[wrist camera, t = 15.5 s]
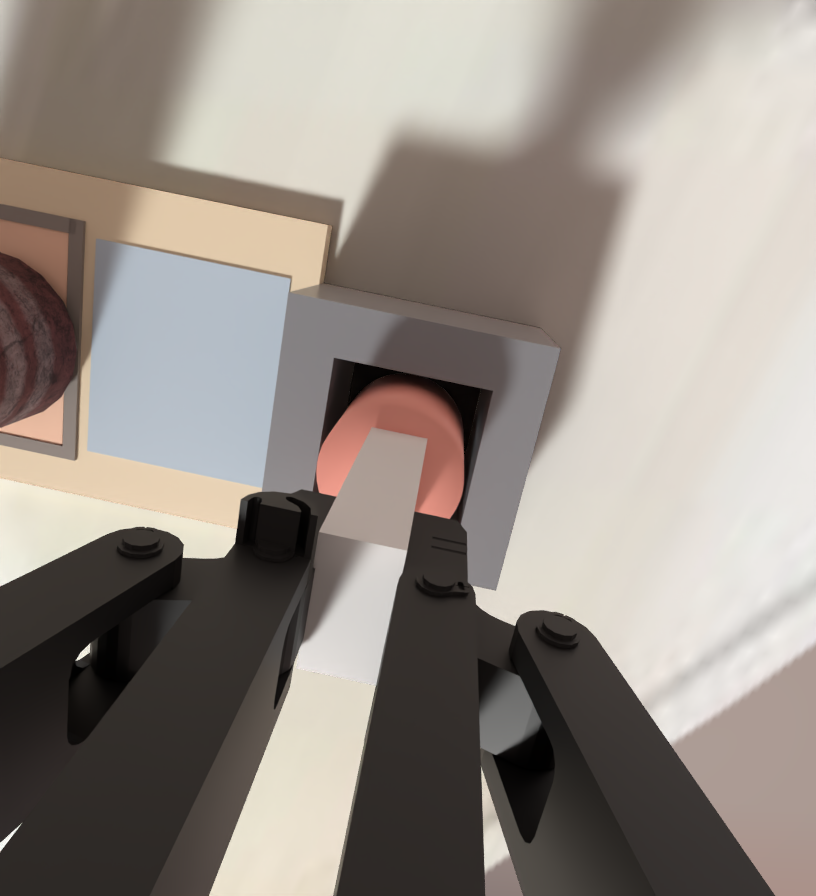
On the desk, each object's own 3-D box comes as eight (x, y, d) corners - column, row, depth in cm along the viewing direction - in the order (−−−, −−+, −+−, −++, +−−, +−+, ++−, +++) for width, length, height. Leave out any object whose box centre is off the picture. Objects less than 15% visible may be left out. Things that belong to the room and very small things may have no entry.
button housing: (293, 485, 26) (255, 539, 21) (323, 283, 23) (288, 292, 19) (489, 526, 26) (495, 590, 21) (540, 328, 23) (560, 348, 18)
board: (-230, 419, 27) (-254, 425, 26) (-267, 103, 23) (-297, 97, 22) (286, 530, 26) (280, 540, 25) (332, 225, 23) (326, 225, 22)
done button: (336, 474, 22) (306, 528, 18) (355, 362, 21) (328, 391, 17) (449, 498, 22) (446, 558, 18) (475, 387, 21) (479, 422, 17)
